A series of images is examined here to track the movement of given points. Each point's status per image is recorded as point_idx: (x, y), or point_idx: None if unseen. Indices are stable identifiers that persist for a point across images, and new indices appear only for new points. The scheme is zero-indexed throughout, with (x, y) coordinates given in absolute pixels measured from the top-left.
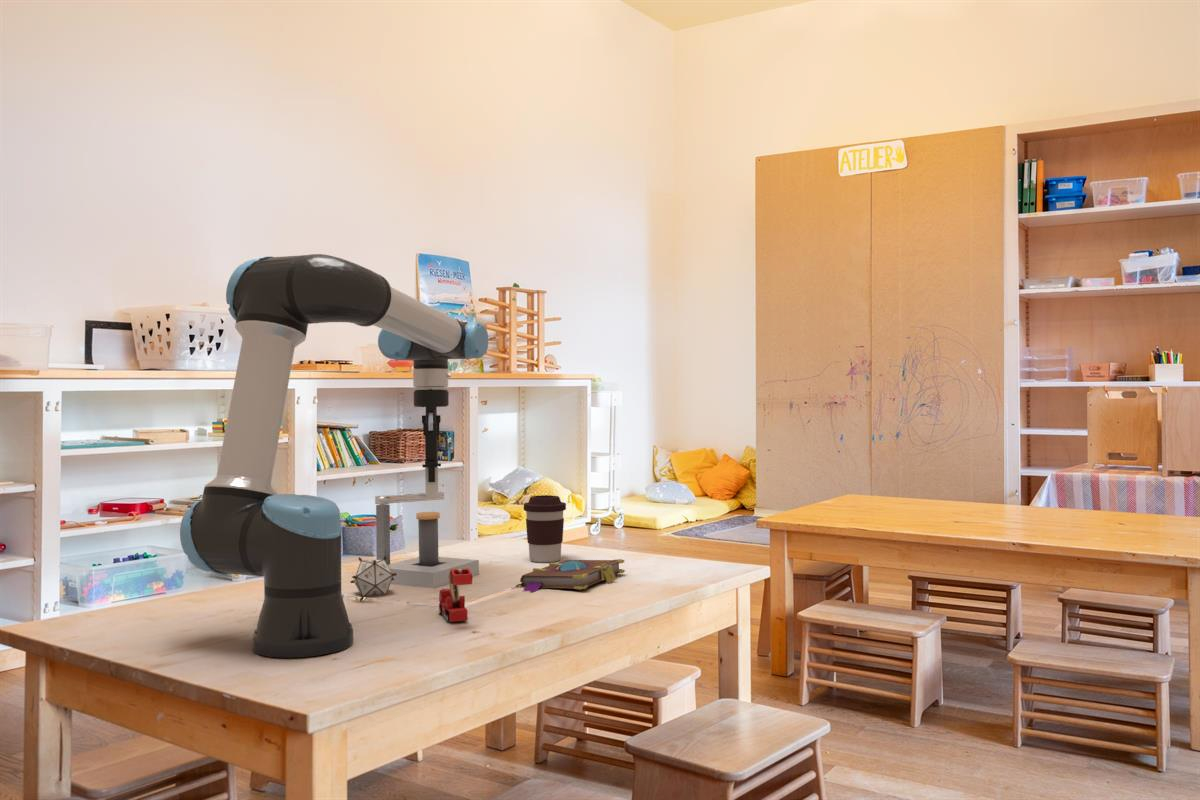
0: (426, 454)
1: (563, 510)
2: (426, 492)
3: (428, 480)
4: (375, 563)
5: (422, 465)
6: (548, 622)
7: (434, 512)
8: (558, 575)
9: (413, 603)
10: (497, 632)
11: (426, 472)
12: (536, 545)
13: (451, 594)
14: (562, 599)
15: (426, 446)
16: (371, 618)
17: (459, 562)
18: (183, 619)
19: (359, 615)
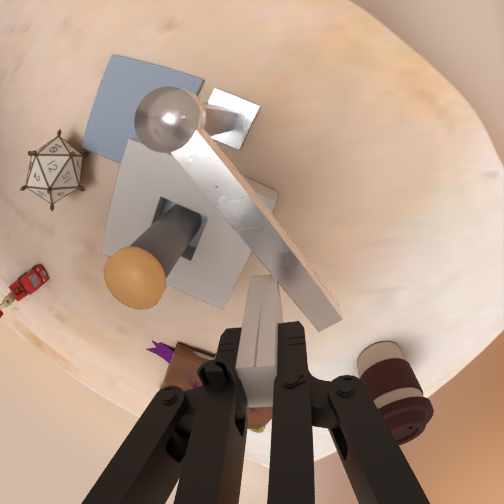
0: (134, 434)
1: None
2: (248, 291)
3: (222, 334)
4: (26, 187)
5: (199, 369)
6: (53, 346)
7: (148, 296)
8: (163, 384)
9: (62, 226)
10: (19, 312)
11: (239, 352)
12: (365, 369)
13: (11, 291)
14: (126, 368)
15: (108, 470)
16: (10, 201)
17: (195, 281)
18: (5, 19)
19: (14, 183)
